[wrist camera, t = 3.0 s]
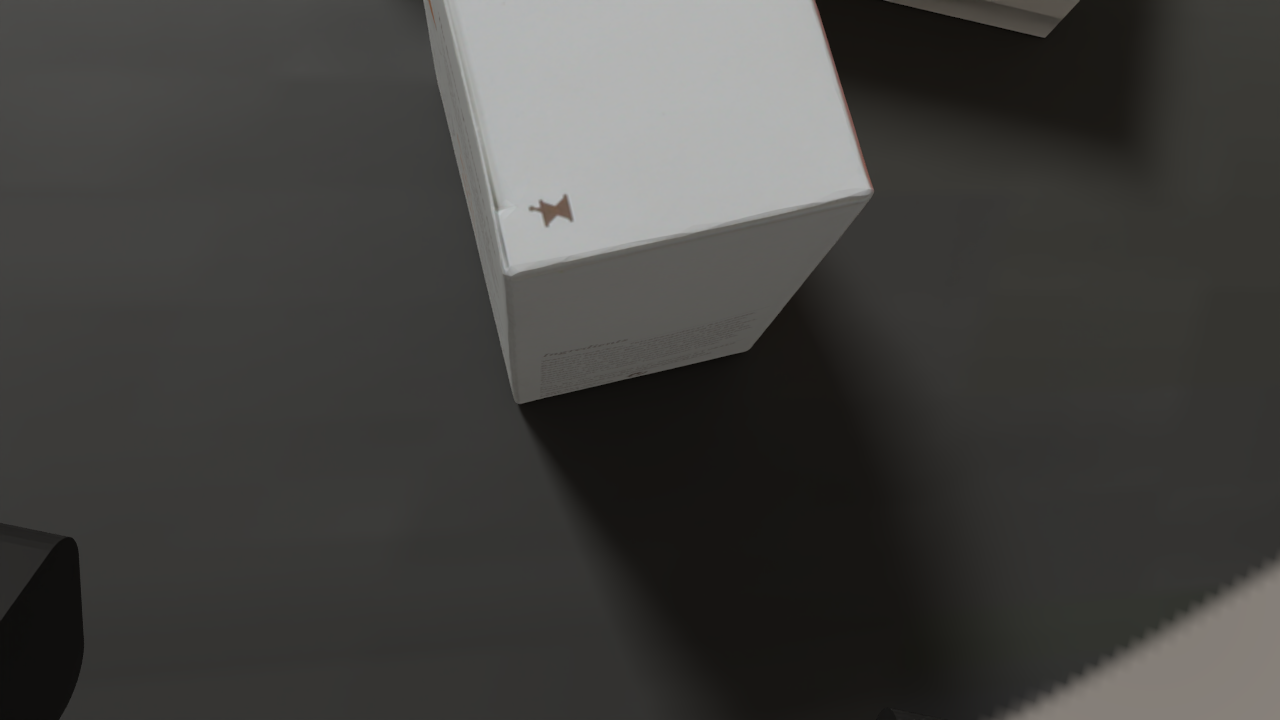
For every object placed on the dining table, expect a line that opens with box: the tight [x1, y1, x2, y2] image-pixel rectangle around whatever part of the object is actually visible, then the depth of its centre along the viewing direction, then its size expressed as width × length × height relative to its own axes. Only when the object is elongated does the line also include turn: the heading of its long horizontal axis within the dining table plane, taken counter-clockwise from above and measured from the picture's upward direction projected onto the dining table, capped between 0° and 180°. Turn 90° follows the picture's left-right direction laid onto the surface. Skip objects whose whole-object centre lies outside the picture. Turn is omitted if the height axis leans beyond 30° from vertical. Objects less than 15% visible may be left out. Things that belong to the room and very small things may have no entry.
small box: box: [423, 0, 874, 404], centre depth 23 cm, size 8×6×10 cm
